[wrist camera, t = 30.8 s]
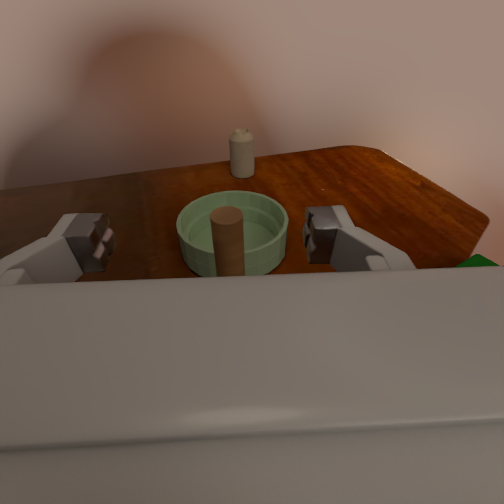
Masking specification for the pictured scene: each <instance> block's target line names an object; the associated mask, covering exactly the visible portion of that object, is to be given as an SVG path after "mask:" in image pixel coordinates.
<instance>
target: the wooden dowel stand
mask: <svg viewBox="0 0 504 504" xmlns="http://www.w3.org/2000/svg"><path fill="white" fill-rule="evenodd" d="M210 223H211V232H212V240H213V249H214V257H215V265H216V274H217V277H226V276H245V260H244V231H243V213H242V211H241V210H240V209H238V208H236V207H232V206H223V207H219V208H216V209H214V210H213V211H212V212H211V214H210Z"/></svg>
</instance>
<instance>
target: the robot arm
mask: <svg viewBox="0 0 504 504" xmlns="http://www.w3.org/2000/svg"><path fill="white" fill-rule="evenodd" d="M305 219H306V222H305V224H304V225H303V243H304V246H305V247H306V248H307V252H306V254H307V257H308V260H309V264H330V265H331V266H332V267H333V268H334V269H335V270H336V271H337V272H329V273H303V274H277V275H252V276H226V277H200V278H174V279H148V280H122V281H96V282H74V281H76V280H77V279H78V278H79V277H80V276H81V275H83V273H90V272H105V270H106V268H107V266H108V263H109V261H110V259H109V257H108V256H110V255H111V254H113V252H114V250H115V246H116V239H115V235H114V232H113V231H112V230H111V229H110V228H109V227H108V225H109V223H110V221H109V219H108V217H107V215H106V214H104V213H80V214H78V213H75V214H65V215H63V216H62V218H61V219H60V220H59V222H58V223H57V224H56V226H55V227H54V228H53V230H52V231H51V232H50V233H49V235H48V236H47V237H45V238H41V239H39V240H37V241H35V242H33V243H31V244H29V245H27V246H25V247H23V248H21V249H19V250H17V251H15V252H14V253H12V254H10V255H8V256H6V257H4V258H2V259H0V504H504V266H484V267H460V268H434V269H416V267H415V266H414V264H413V263H412V261H411V260H410V258H409V257H408V255H407V254H406V253H404V252H403V251H401V250H399V249H397V248H395V247H393V246H392V245H390V244H388V243H386V242H384V241H383V240H381V239H379V238H377V237H375V236H374V235H372V234H370V233H368V232H366V231H365V230H363V229H361V228H359V227H355V226H354V224H353V223H352V221H351V219H350V217H349V215H348V213H347V211H346V209H345V208H344V206H343V205H337V206H322V207H306V210H305Z"/></svg>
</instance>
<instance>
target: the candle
mask: <svg viewBox="0 0 504 504" xmlns="http://www.w3.org/2000/svg"><path fill="white" fill-rule="evenodd" d="M229 144H230V163H231V174H232V175H233V176H234V177H237V178H248V177H251V176H252V175H253V174H254V136H253V135H252V134H251V133H250V131H249V130H248V129H236V130H235V131H234V132H233V133H232V134H231V135H230V136H229Z"/></svg>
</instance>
